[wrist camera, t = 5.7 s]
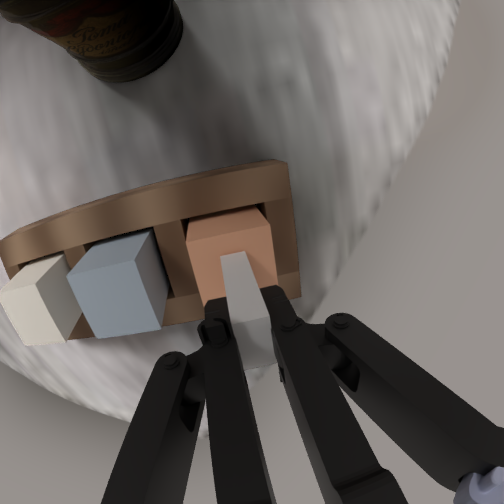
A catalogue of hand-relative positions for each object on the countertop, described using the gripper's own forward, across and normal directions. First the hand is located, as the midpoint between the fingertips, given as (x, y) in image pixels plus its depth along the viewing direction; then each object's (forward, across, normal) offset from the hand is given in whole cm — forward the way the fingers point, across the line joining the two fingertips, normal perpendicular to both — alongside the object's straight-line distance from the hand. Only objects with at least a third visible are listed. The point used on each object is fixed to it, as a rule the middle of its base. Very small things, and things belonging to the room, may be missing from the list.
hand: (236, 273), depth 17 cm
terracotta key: (+6, 0, 0) cm, 6 cm away
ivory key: (+5, -16, 0) cm, 17 cm away
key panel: (+8, -8, 0) cm, 11 cm away
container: (+8, -5, +19) cm, 21 cm away
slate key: (+5, -8, 0) cm, 10 cm away
